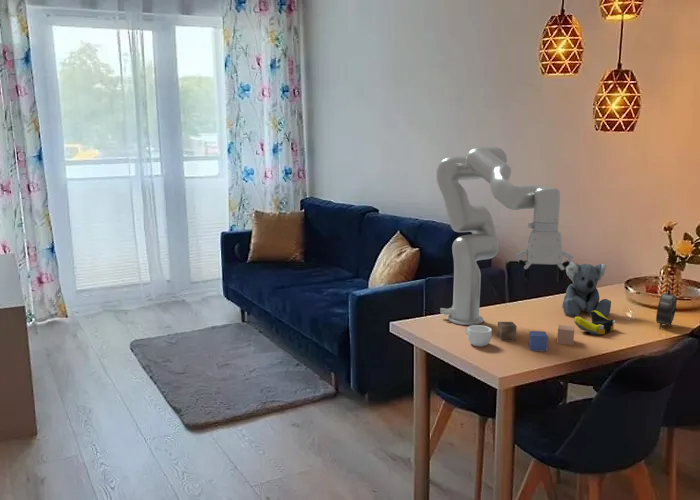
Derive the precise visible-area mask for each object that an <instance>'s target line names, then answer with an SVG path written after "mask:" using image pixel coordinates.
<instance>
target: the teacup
mask: <svg viewBox="0 0 700 500" xmlns="http://www.w3.org/2000/svg"><path fill="white" fill-rule="evenodd" d="M464 331H465V334H466V335H467V339H468V342H469V343H470V344H471V345H472V346H475V347H480V348H481V347H486V346H487V345H489V343H490V342H491V340H492V334H493V333H492V332H493V330H492V328H491V327H490V326H486V325H480V324H476V325H468V326H467V327H466V328H465V330H464Z"/></svg>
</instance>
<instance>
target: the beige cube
mask: <svg viewBox="0 0 700 500" xmlns="http://www.w3.org/2000/svg"><path fill="white" fill-rule="evenodd" d="M557 326H558V327H557V340H556V343H557V344H560V345H569V346H574V342H575V341H574V340H575V337H574V336H575V326H574V325H564V324H558V325H557Z"/></svg>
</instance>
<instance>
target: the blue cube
mask: <svg viewBox="0 0 700 500" xmlns="http://www.w3.org/2000/svg"><path fill="white" fill-rule="evenodd" d="M528 331H529V334H528V335H529V336H528V347H529V350H530V352H531V351H533V352H534V351H535V352H547V351H548V339H549V338H548V337H549V336H548V335H547V332H546V331H544V330H543V331H541V330H540V331H539V330H528Z"/></svg>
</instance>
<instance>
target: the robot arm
mask: <svg viewBox="0 0 700 500" xmlns="http://www.w3.org/2000/svg"><path fill="white" fill-rule="evenodd" d="M436 169H437V170H436V182H437V185H438V188H439V190H440V192H441V196H442V198H443V201H444V205H445V209H446V213H447V217H448V221H449V225H450V228H451V229H452V231H454V232H456V233H469V232H474V233H472V234H465V235H461V236H458V237H457V238H456V239H455V240H454V241H453V243H452V246H451V249H452V250H451V251H452V257H453V258H452V259H453V293H452V295H453V296H452V297H453V298H452V305H451V307H449V308H445V307H440V308H439V310H440V311H439V312H440V314H443V316H445V315H446V316H448V317H447V318H448V319H447V320H448V322H451V323H453V324H456V325H460V326H461V325H462V326H472V325H480V324H481V323H483V322H484V318H483V316H481V315H480V304H481V303H480V301H481V299H480V298H481V282H482V281H481V277H482V275H481V270H480V267H479V265H478V263H477V261H483V260H490V259H492V258H494V257H495V258H496V256H497V254H498V252H499V240H498V237H497V236H498V235H497V232H496V228H495V225H494V222H493V218H492V214H491V212H490V211H489V209H488V207H486V206H484V205H480V204H474V205H473V204H471V203H470V201H469V196H468V193H467V192H466V189H465V188H464V187H463V186H462V185H461V183H460V182H459V181H466V180H467V181H468V180H469V181H470V180H479V179H483V180H485V181H486V182H487V183H489V184H490V185H489V187H490V191H491V193H492V196H493V197H494V199H496V200H497V202H499V203H500V204H502V205H503V206H505V207H506V208H508V209H510V210H514V211H516V210H517V211H518V210H533V217H532V218H533V220H532V222H531V223H528V225H527V227H528V228H530V229H532V230H531V231H530V233H529V238H528V243H527V248H525V249H524V250H522V251H519V252H517V253H516V254H515V257H516V260H517V262H518V263H519V265H520V266H521V267H522V268H523V279H524V280H525V281H526V282H529V281H530V266H531V265H554V266H555V265H556V266H557V267H558V268H557V269H556V281H557V282H558V283H559V284H560V283H561V282H562V280H563V277H564V270H565V269H566V267H567V266H568V265H569V264H570V263H571V262H572V261H573V259H574V255H572V254H570V253H568V252H567V251H564V250H563V242H562V240H563V239H562V232H560V231H559V221H560V220H559V219H560V202H561V191H560V189H559V188H556V187H552V186H551V187H550V186H546V187H545V186H543V185H542V186H541V185H539V184H529V185H528V184H527V185H526V184H524V185H514V184H512V183H511V182H510V181H508V180H509V179H510V177H511V173H512V170H511V166H510V165H509V164H508V158H507V154H506V152H505V150H503V148H501V147H498V146H478V147H474V148H472V149H471V150H469V151H468V153H467V154H466V156H463V155H462V156H460V155H459V156H457V155H456V156H448V157H446V158H444V159H442V160H441V161H440V162H439V164H438V166H437V168H436ZM523 256H526V259H527V260H526V261H524V260H523V259H522V257H523ZM563 257H566V259H565V261H563V262H562V259H563Z"/></svg>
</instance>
